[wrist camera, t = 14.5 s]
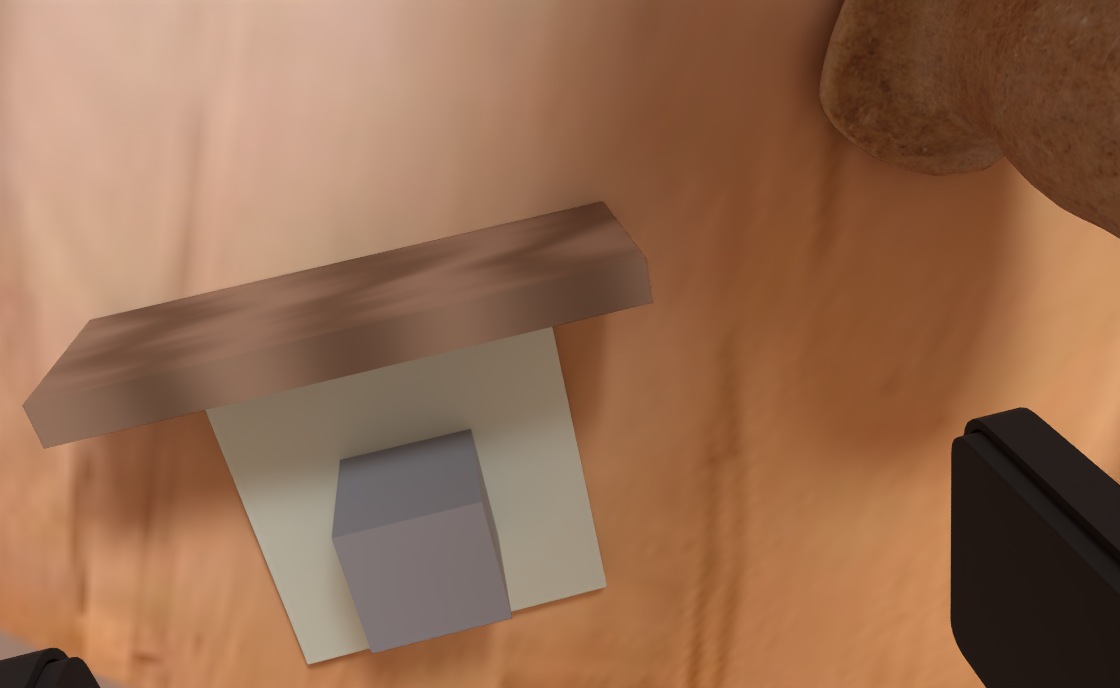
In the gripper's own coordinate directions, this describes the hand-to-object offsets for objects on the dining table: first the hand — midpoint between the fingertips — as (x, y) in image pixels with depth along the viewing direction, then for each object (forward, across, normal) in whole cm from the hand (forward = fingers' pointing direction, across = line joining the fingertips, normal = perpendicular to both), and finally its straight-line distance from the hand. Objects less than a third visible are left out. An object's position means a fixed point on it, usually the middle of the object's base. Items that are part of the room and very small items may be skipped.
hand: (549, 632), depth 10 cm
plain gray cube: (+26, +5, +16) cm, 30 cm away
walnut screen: (+27, +5, +6) cm, 28 cm away
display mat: (+26, +5, +16) cm, 31 cm away
